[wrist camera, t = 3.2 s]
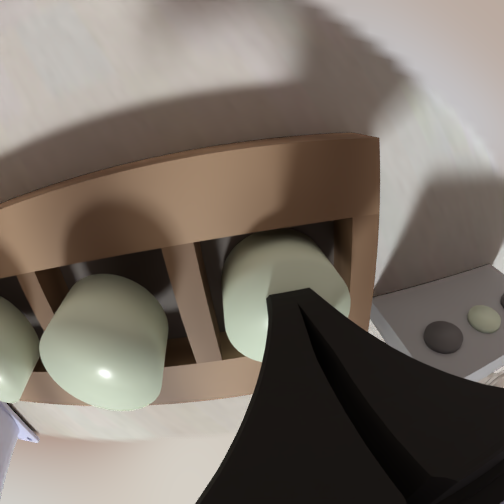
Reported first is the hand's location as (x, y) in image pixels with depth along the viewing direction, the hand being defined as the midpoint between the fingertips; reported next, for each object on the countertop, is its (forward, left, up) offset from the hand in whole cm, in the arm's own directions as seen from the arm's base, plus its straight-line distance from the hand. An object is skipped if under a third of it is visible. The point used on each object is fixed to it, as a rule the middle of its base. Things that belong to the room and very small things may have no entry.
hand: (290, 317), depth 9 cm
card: (+9, -3, -3) cm, 10 cm away
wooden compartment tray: (-6, 0, -3) cm, 7 cm away
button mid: (-6, 0, -1) cm, 6 cm away
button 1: (0, 0, -2) cm, 2 cm away
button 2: (-12, 0, -1) cm, 12 cm away
